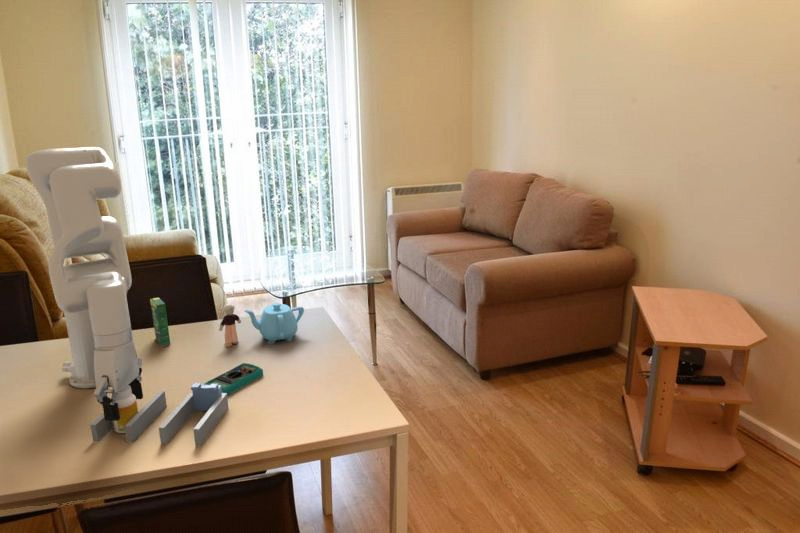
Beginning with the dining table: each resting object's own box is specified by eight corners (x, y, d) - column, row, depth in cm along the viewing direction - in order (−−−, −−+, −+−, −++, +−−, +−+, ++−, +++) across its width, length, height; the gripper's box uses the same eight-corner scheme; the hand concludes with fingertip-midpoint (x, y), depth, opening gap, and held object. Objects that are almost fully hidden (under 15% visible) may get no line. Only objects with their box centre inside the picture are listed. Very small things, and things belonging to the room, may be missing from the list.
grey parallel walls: (93, 441, 131) (88, 413, 129) (131, 404, 146) (127, 379, 144) (200, 446, 128) (197, 417, 127) (228, 408, 144) (225, 382, 142)
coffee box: (154, 338, 186) (149, 298, 182) (164, 336, 187) (159, 296, 184) (160, 346, 179) (155, 305, 176) (170, 344, 181) (165, 303, 177)
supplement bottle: (145, 424, 137) (139, 385, 135) (126, 436, 133) (119, 396, 130) (128, 419, 140) (122, 381, 137) (108, 430, 135) (102, 391, 132)
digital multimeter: (265, 376, 161) (264, 366, 160) (223, 399, 149) (222, 389, 148) (245, 370, 165) (244, 360, 164) (203, 393, 152) (201, 382, 151)
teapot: (307, 335, 187) (306, 301, 185) (277, 350, 175) (276, 313, 173) (276, 329, 193) (274, 295, 191) (245, 342, 181) (243, 307, 179)
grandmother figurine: (229, 349, 177) (225, 308, 174) (218, 346, 179) (214, 306, 175) (246, 339, 184) (242, 300, 180) (236, 337, 185) (232, 298, 182)
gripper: (118, 323, 138) (129, 390, 143) (72, 353, 122) (85, 428, 126) (149, 323, 138) (159, 391, 142) (107, 353, 121) (119, 429, 126)
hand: (124, 408), depth 134 cm, fingers open, 9 cm apart
